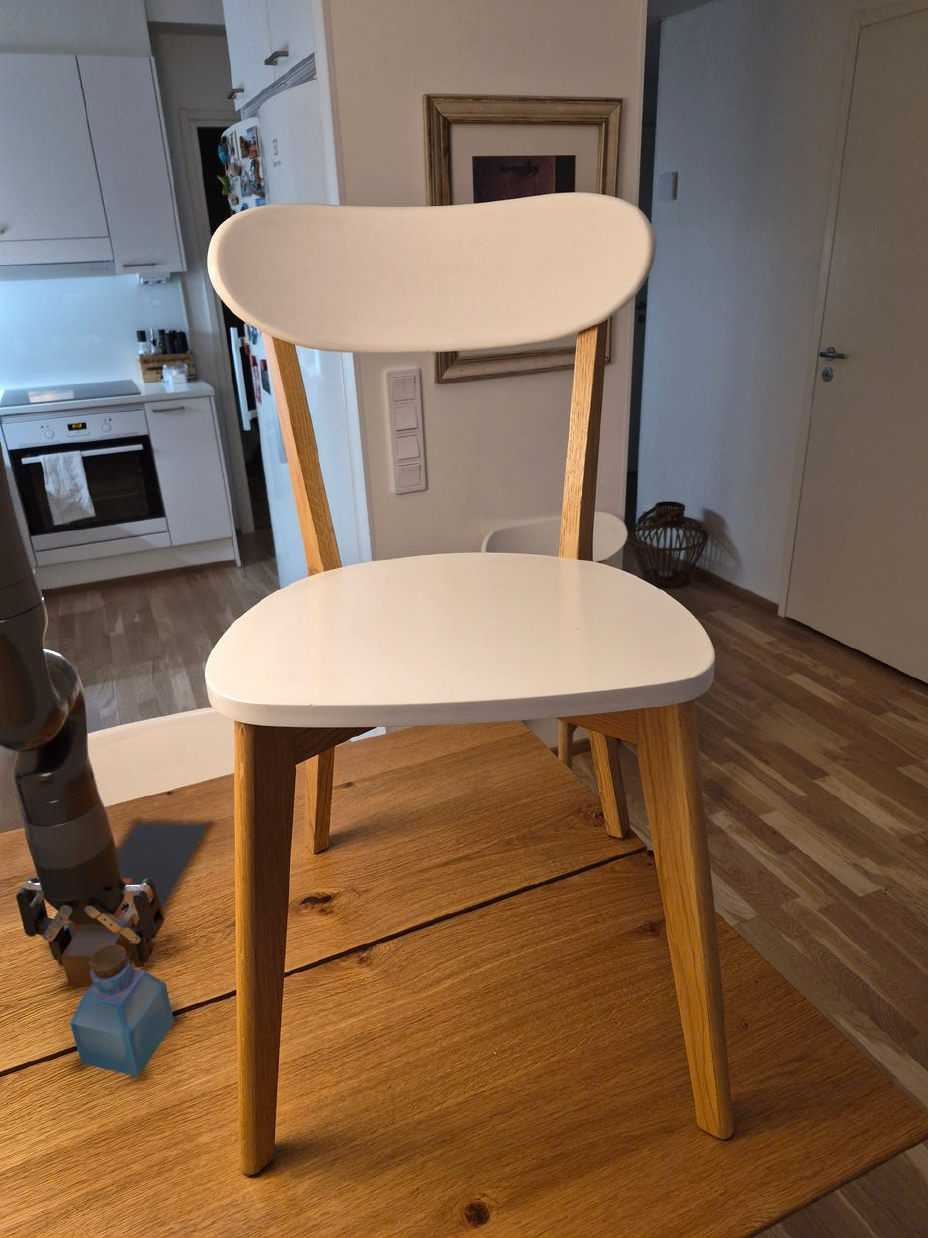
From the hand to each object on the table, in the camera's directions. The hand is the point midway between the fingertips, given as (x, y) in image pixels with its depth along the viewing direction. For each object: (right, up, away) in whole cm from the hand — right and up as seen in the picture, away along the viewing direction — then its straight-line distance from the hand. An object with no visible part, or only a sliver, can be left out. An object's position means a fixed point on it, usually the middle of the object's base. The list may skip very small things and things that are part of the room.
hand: (105, 960), depth 90 cm
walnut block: (0, -2, +1) cm, 2 cm away
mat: (-2, +4, +14) cm, 14 cm away
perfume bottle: (+6, -6, -8) cm, 11 cm away
